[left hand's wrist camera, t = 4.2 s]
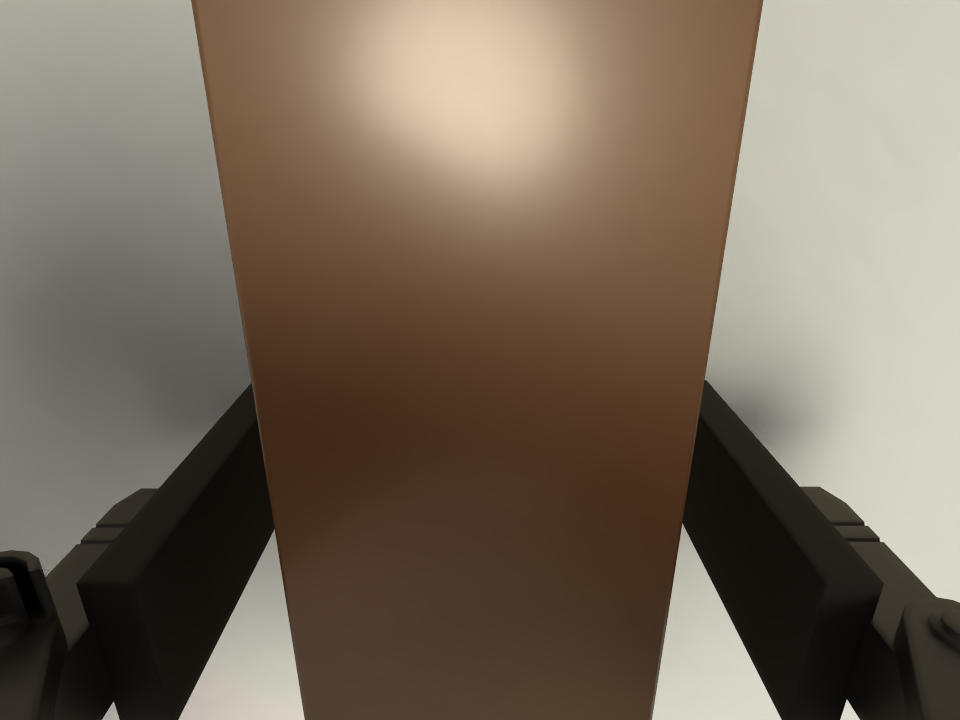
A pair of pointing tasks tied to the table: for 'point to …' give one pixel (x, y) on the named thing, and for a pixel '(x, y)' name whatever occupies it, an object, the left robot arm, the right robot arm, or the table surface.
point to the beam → (477, 330)
